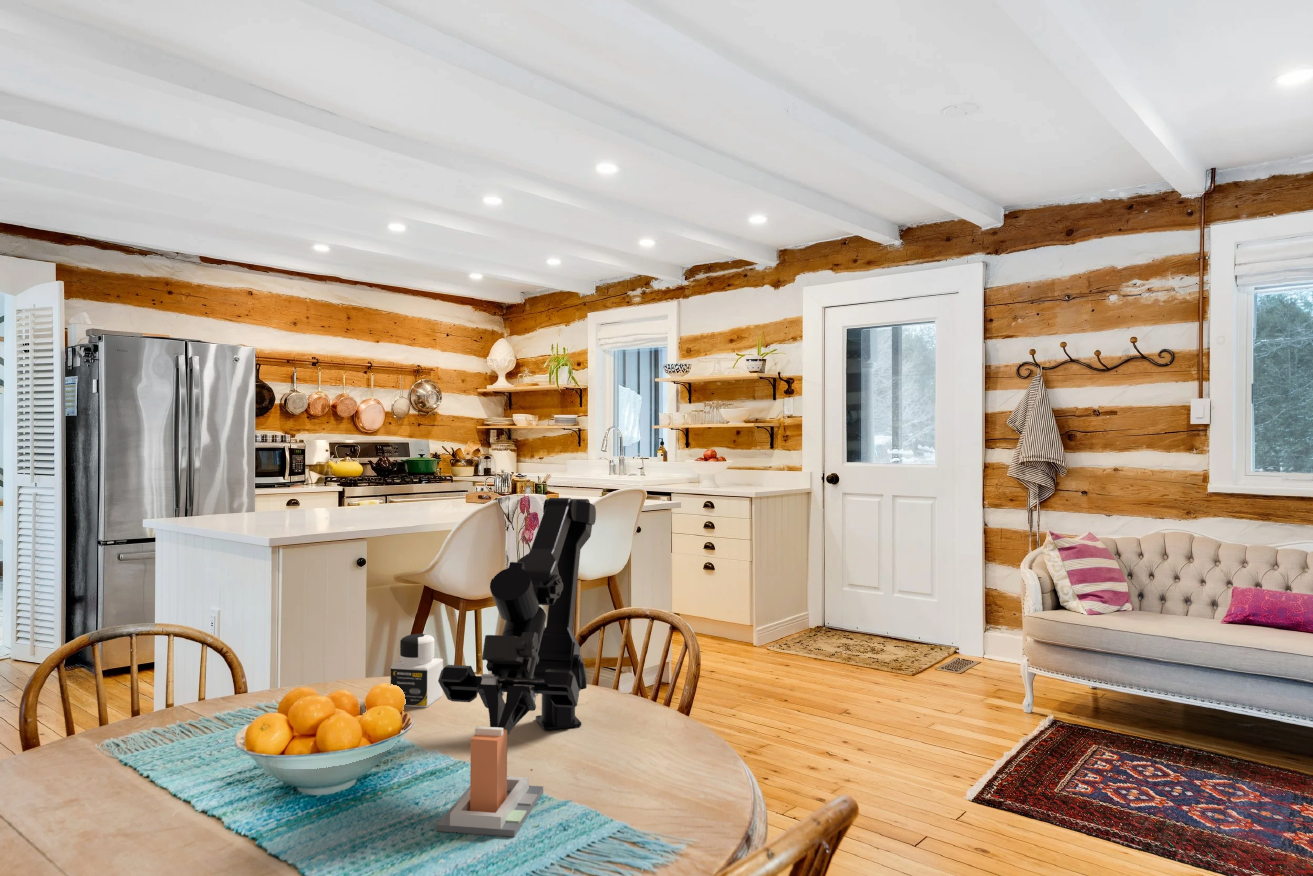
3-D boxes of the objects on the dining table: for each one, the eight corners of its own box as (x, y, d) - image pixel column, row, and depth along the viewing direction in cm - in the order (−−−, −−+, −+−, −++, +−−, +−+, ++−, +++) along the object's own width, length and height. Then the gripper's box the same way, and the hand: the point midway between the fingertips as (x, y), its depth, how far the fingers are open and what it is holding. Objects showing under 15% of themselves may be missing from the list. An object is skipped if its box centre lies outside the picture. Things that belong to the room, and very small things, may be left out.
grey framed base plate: (473, 787, 117) (473, 771, 117) (543, 792, 116) (543, 775, 116) (436, 831, 104) (436, 812, 104) (514, 836, 103) (514, 818, 103)
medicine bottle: (389, 706, 152) (390, 639, 152) (407, 694, 159) (408, 630, 159) (426, 708, 151) (427, 641, 151) (443, 696, 158) (443, 632, 158)
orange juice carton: (480, 800, 111) (481, 722, 111) (506, 802, 110) (507, 723, 110) (470, 814, 107) (470, 732, 107) (496, 816, 106) (497, 734, 106)
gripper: (444, 607, 117) (409, 711, 106) (575, 611, 115) (553, 719, 104) (464, 650, 125) (433, 751, 114) (587, 655, 122) (568, 759, 111)
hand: (495, 744), depth 111 cm, fingers closed, pressing on orange juice carton
